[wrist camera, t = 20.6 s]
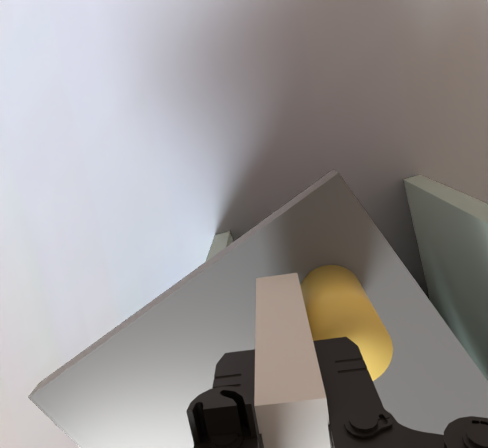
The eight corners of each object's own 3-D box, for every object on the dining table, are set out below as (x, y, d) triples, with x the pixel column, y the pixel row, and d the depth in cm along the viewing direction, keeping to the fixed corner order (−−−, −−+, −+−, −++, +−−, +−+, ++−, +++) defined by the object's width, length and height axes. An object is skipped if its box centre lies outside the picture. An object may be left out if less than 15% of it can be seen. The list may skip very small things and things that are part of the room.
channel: (214, 235, 32) (183, 326, 19) (420, 174, 30) (544, 228, 17) (288, 445, 37) (304, 633, 24) (468, 404, 35) (593, 582, 22)
